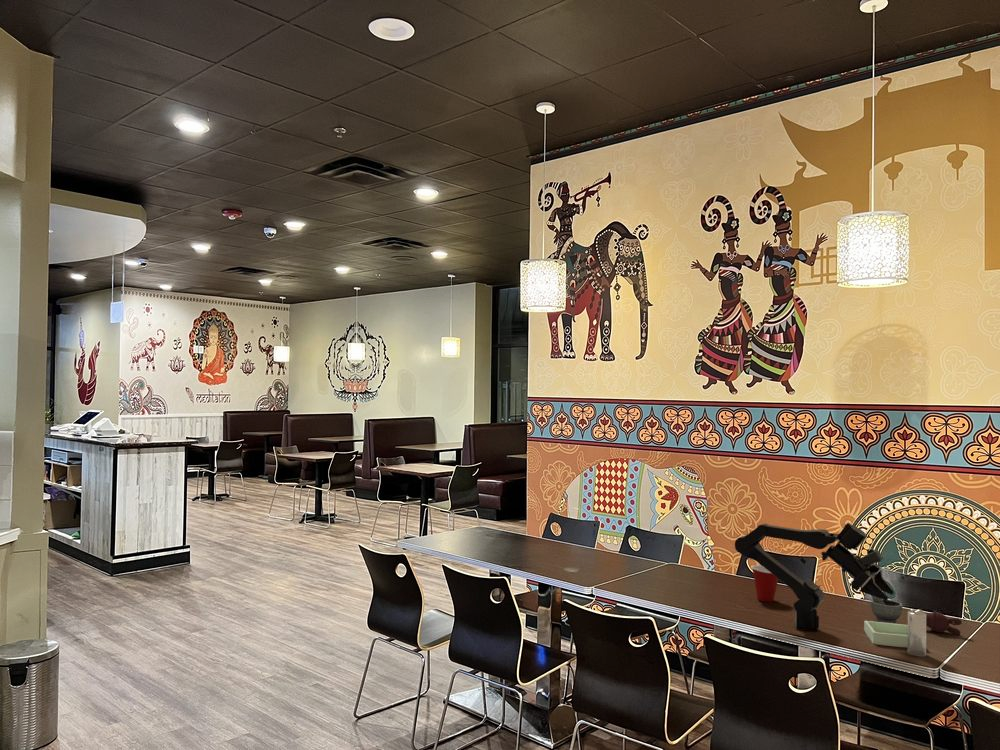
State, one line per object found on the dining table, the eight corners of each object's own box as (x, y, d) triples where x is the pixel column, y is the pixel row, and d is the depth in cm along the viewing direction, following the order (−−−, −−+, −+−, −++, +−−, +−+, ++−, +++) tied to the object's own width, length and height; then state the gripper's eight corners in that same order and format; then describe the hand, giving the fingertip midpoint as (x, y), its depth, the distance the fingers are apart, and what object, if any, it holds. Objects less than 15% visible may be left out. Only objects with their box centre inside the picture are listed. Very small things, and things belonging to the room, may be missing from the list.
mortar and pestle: (906, 623, 249) (906, 588, 249) (897, 629, 242) (897, 592, 243) (871, 616, 257) (871, 582, 257) (861, 621, 250) (862, 586, 251)
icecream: (908, 610, 242) (961, 623, 233) (911, 600, 247) (963, 613, 239) (906, 629, 243) (959, 643, 234) (909, 619, 249) (961, 632, 240)
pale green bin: (873, 644, 225) (873, 632, 225) (864, 631, 238) (864, 620, 238) (922, 649, 221) (922, 637, 222) (910, 636, 234) (910, 625, 235)
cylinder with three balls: (909, 655, 216) (910, 610, 216) (905, 650, 220) (906, 606, 221) (928, 657, 214) (928, 612, 215) (923, 652, 219) (923, 608, 219)
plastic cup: (783, 604, 269) (784, 572, 269) (753, 602, 271) (753, 569, 271) (778, 597, 279) (779, 565, 280) (749, 595, 281) (749, 563, 282)
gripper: (856, 545, 223) (902, 582, 215) (869, 538, 238) (912, 572, 230) (833, 571, 227) (877, 609, 219) (847, 562, 242) (889, 597, 233)
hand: (890, 596), depth 225 cm, fingers open, 9 cm apart
